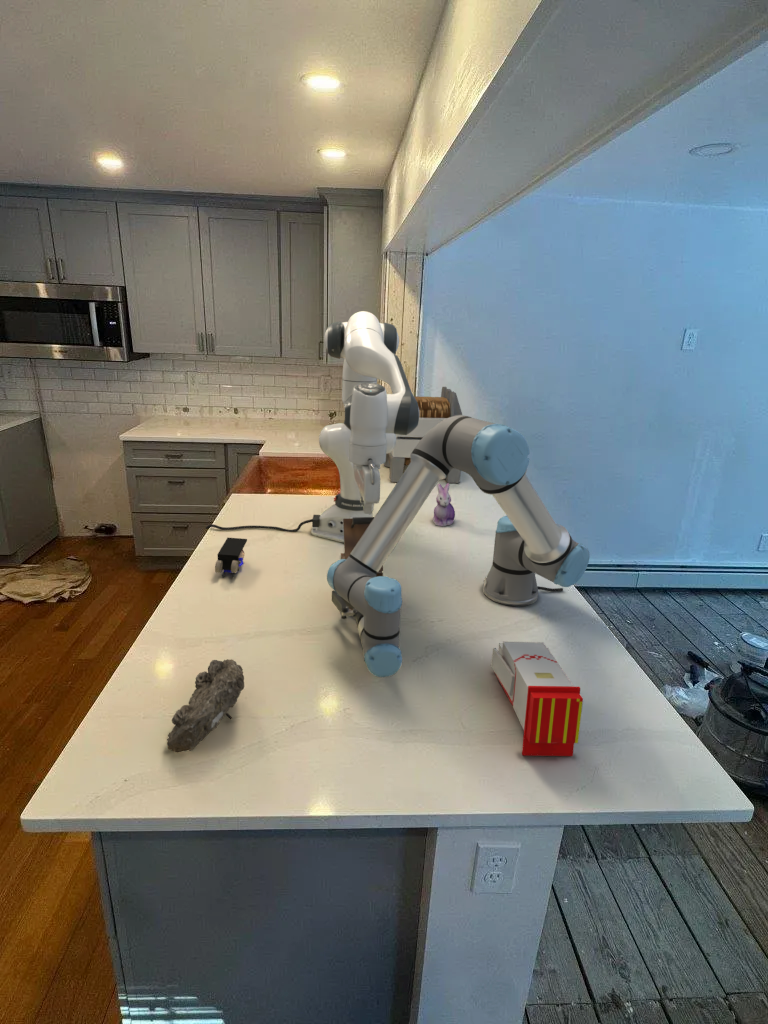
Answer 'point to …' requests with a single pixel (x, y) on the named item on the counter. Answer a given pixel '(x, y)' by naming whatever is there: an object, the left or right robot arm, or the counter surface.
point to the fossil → (206, 705)
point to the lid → (354, 532)
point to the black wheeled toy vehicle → (230, 556)
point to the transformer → (423, 432)
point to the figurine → (443, 507)
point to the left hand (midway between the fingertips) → (365, 508)
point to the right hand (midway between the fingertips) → (361, 580)
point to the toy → (539, 697)
